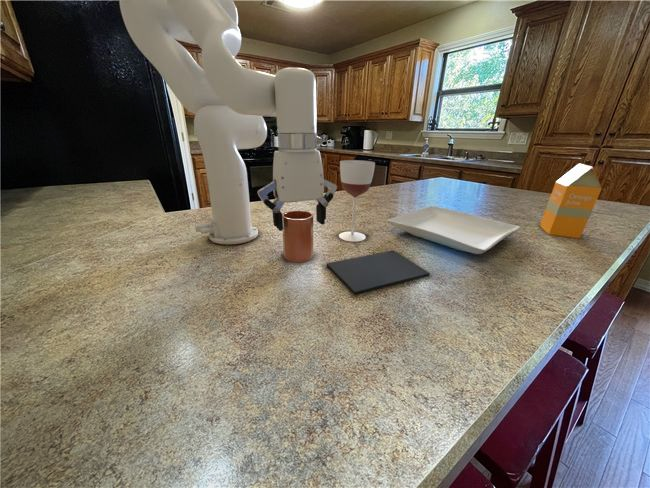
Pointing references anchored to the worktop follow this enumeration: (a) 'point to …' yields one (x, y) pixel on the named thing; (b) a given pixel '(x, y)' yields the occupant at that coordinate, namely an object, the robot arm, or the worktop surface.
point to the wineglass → (355, 188)
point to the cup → (297, 235)
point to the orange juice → (571, 202)
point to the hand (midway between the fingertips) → (300, 225)
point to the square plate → (454, 228)
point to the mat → (376, 271)
